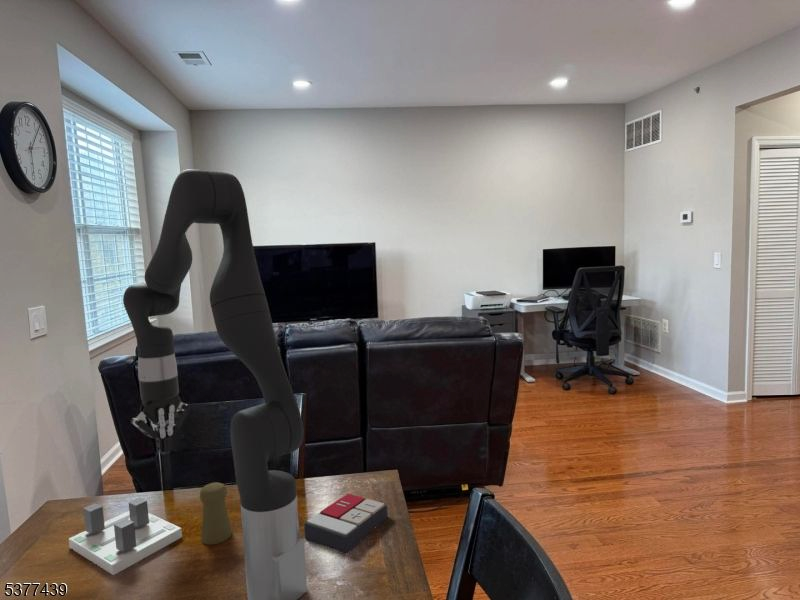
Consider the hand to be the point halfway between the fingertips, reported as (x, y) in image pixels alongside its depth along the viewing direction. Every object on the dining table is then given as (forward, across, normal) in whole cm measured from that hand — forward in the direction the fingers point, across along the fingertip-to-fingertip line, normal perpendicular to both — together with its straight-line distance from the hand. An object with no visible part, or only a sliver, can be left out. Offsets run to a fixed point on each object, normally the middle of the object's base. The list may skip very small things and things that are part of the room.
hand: (165, 452), depth 109 cm
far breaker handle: (+13, -13, +6) cm, 19 cm away
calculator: (+16, +17, -37) cm, 43 cm away
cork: (+16, +1, -15) cm, 21 cm away
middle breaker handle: (+13, -7, 0) cm, 15 cm away
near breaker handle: (+13, -13, -6) cm, 19 cm away
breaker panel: (+16, -10, 0) cm, 18 cm away
